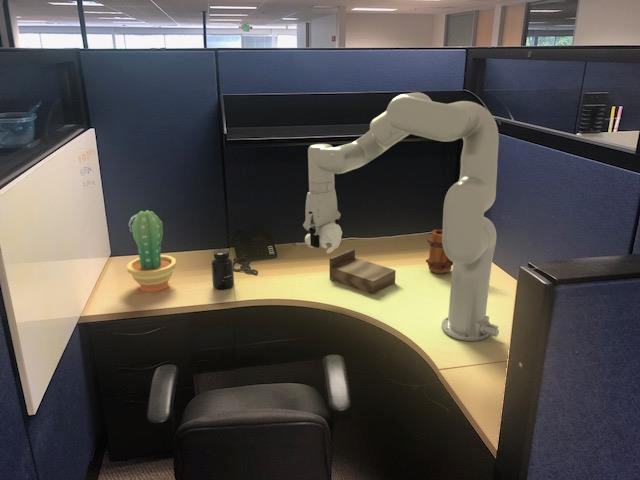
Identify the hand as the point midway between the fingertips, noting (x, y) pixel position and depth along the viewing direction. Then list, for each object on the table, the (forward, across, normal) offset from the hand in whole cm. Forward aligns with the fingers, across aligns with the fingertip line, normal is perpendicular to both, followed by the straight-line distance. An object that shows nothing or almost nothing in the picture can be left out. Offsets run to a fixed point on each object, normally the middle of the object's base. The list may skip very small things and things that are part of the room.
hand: (323, 243), depth 158 cm
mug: (+17, -39, +21) cm, 47 cm away
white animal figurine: (+2, 0, 0) cm, 2 cm away
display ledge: (+16, -14, +4) cm, 22 cm away
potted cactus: (+15, +34, -44) cm, 57 cm away
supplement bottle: (+16, +19, -27) cm, 36 cm away
